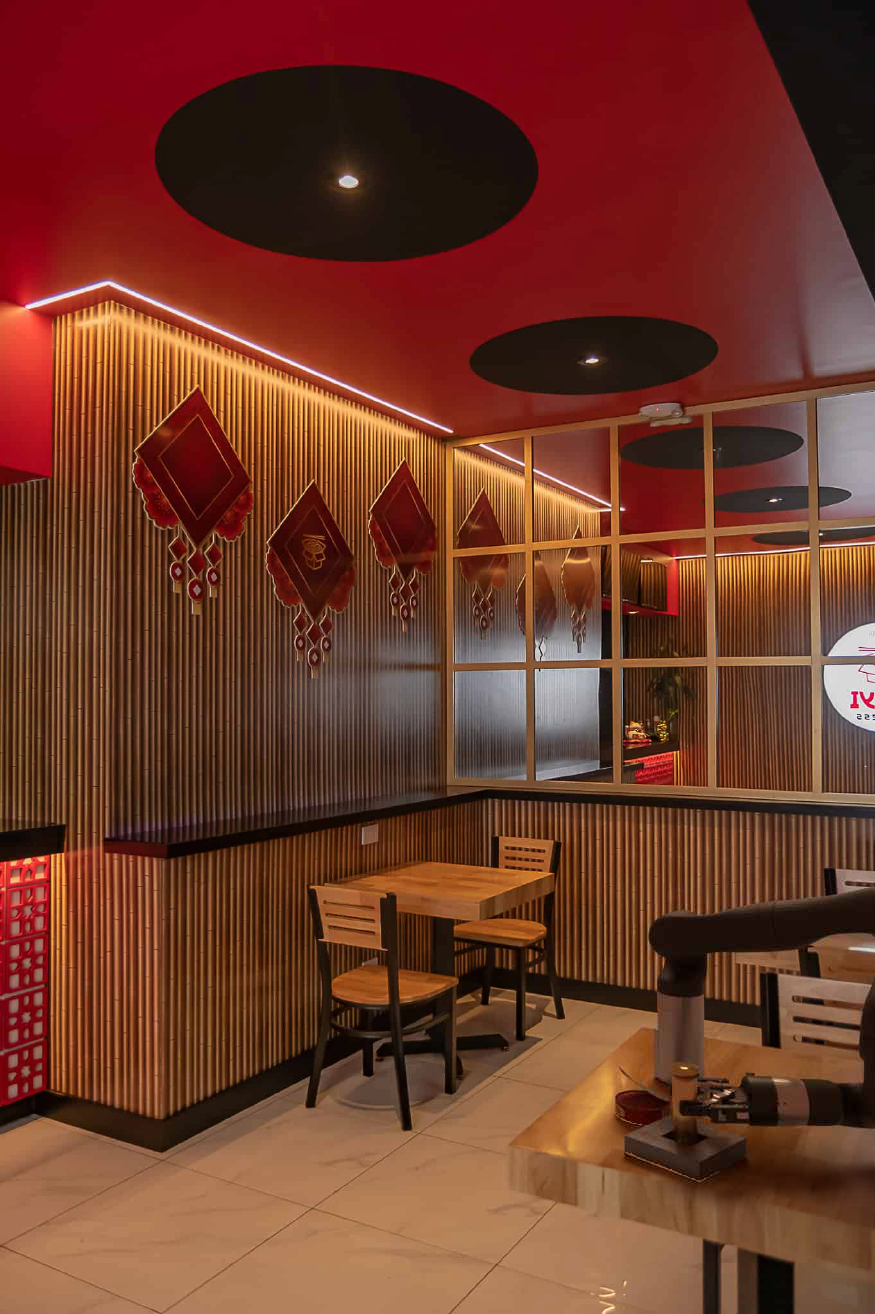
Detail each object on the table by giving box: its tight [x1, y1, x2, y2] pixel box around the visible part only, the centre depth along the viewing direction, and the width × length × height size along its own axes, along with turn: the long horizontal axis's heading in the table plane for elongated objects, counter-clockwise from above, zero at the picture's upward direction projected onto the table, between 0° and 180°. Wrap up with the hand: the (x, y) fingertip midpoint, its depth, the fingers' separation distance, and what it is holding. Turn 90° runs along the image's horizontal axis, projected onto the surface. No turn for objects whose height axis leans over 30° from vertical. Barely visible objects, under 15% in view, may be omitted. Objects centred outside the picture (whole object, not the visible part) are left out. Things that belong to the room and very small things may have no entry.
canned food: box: [614, 1066, 671, 1125], centre depth 174 cm, size 11×10×10 cm
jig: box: [623, 1113, 747, 1181], centre depth 157 cm, size 14×14×3 cm
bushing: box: [669, 1062, 700, 1147], centre depth 157 cm, size 5×5×14 cm
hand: (674, 1098), depth 158 cm, fingers open, 8 cm apart
